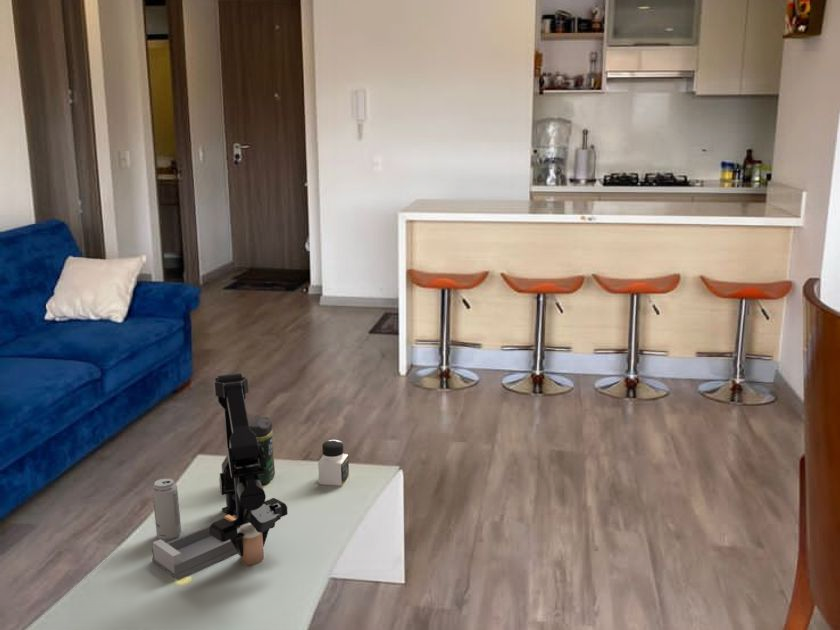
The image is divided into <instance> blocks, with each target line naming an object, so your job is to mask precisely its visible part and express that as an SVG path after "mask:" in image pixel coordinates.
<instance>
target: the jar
mask: <svg viewBox="0 0 840 630" xmlns="http://www.w3.org/2000/svg"><path fill="white" fill-rule="evenodd" d="M240 531H241V533H243V534H244V536H243V538H242V543H243V556H242V557H241V556H240V555H239V559H240V563H241V564H243V565H246V566H254V565H257V563H258V564H260V563H262V562H263V561H264V560H265V556H264V555H265V552H264V551H265V550H264V547H263V535H262V533H259V532H257V531H256V529H255V528H254V527H253V525H252V524H251V523H249V524H246V525H244V526H241V528H240ZM262 560H263V561H262Z"/></svg>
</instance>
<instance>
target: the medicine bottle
mask: <svg viewBox="0 0 840 630" xmlns="http://www.w3.org/2000/svg"><path fill="white" fill-rule="evenodd" d="M317 465H318V468H317V469H318V483H319V485H324V486H325V485H326V486H339V487H343V486H344V484H345V483H346V481H347V480H348V478H349V477H350V467H349V454H347V453H344V443H343V441H341V440H337V439H330V440H327V441H324V442H323V443H322V457H321V458H320V459H319V460H318V462H317Z"/></svg>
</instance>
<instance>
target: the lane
mask: <svg viewBox="0 0 840 630" xmlns="http://www.w3.org/2000/svg"><path fill="white" fill-rule="evenodd" d="M232 517H234V518H236V519H237V516H235V515H233V516H232ZM210 525H211V524H209V525H207V526H203V527H202V528H201V527H200V528H199V529H197V530H194V531H192V532H189V533H187V534H185V535H182V536H180V537H178V538H176V539H174V540H171V541H162V540H161V539H160V538H159V539H158V540H155V541H153V542H152V546H153V547H152V549H151V550H152V552H151V553H152V557H151V560H152V561H151V562H153V563H154V564H155V565H157V566H159V567H160V568H161V569H162V570H164V571H165V572H167V573H168V574H169V575H171V576H172V577H173V578H175V579H176V580H180V579H183V578H185V577H186V576H187V577H188V576H190V575H191V574H194V573H196V572H199V571H200V570H202V569H205V568H207V567H210V566H212V565H214V564H216V563H218V562H220V561H223V560H225V559H227V558H229V557H231V556H233V555H236V554H238V552H237V550H236V549H235V547H234V545H233V543H232V542H231V540H228V541H226V542H222V541H220V540H218V539H217V538H215V537H214V536H212V535H210V531H209V527H210Z"/></svg>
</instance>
